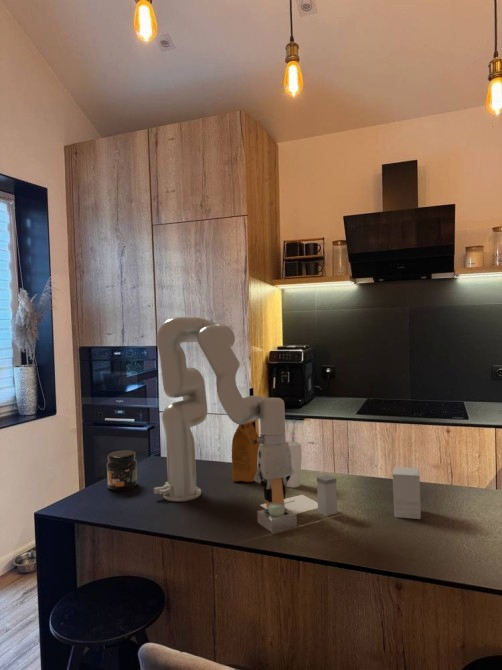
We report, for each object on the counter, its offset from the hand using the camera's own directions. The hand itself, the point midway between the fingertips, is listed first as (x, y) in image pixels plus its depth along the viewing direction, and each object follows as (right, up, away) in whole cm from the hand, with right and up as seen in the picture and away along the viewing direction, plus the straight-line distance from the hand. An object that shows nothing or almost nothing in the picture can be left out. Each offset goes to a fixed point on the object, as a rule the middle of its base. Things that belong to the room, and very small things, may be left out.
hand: (275, 498), depth 144 cm
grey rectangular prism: (+15, -3, -3) cm, 16 cm away
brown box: (0, -2, 0) cm, 2 cm away
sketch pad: (+5, -3, +3) cm, 7 cm away
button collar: (0, -4, -10) cm, 11 cm away
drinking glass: (+7, -3, +22) cm, 24 cm away
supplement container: (-54, -5, +28) cm, 61 cm away
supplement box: (+38, -3, -5) cm, 39 cm away
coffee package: (-8, -4, +32) cm, 33 cm away
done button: (0, -2, -10) cm, 10 cm away
